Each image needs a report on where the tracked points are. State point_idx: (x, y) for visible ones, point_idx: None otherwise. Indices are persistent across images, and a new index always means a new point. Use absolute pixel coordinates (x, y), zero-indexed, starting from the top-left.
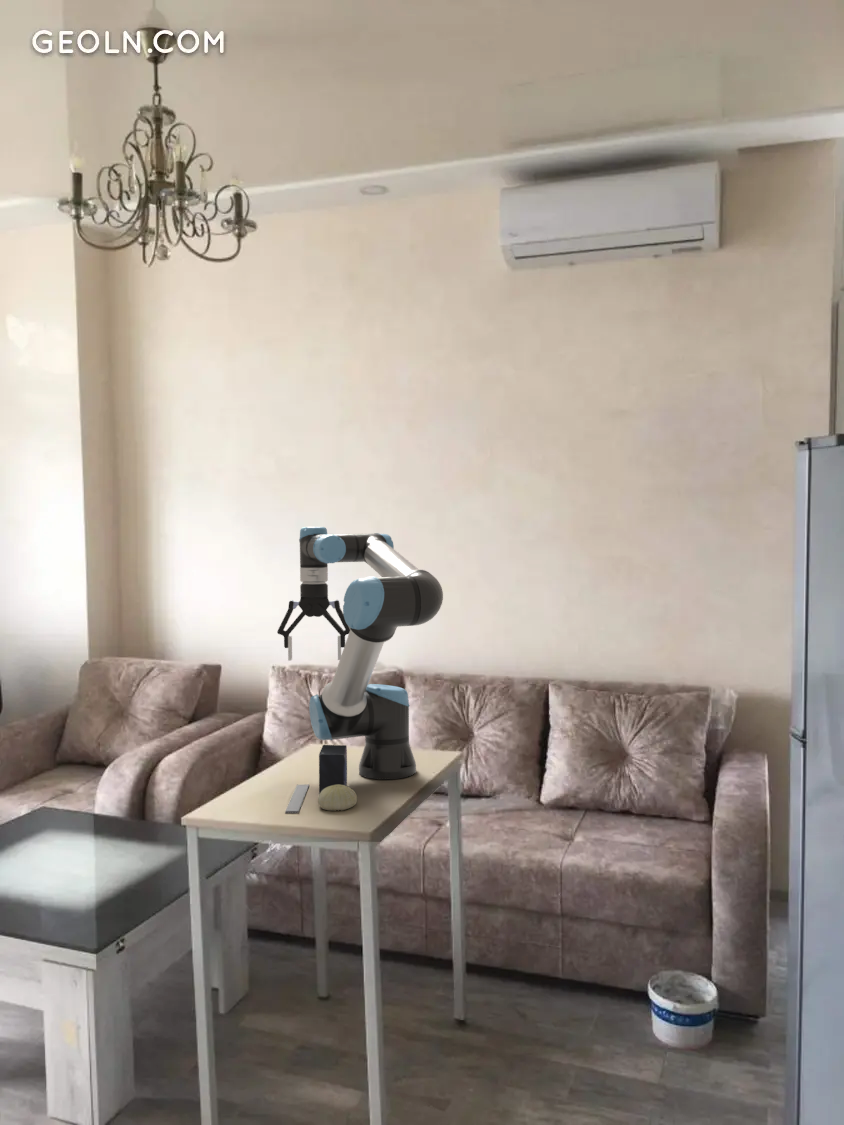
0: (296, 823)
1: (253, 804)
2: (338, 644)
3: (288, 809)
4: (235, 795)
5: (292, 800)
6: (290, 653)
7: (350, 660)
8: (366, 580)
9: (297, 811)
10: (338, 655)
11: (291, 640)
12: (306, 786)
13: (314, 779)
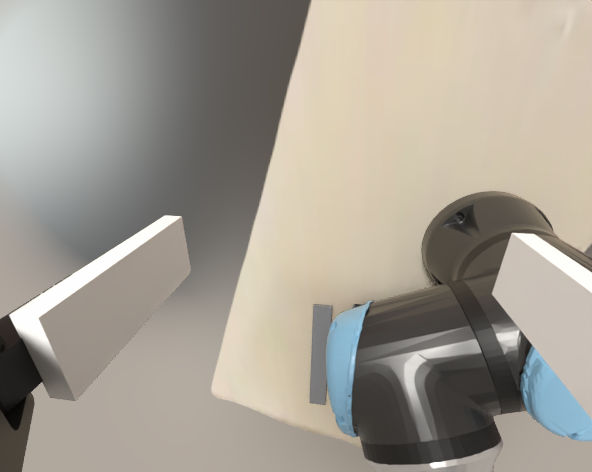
0: (325, 428)
1: (266, 366)
2: (573, 386)
3: (312, 398)
4: (234, 329)
5: (314, 370)
6: (165, 296)
7: None
8: None
9: (324, 404)
10: (512, 314)
11: (92, 320)
12: (328, 316)
13: (339, 269)
